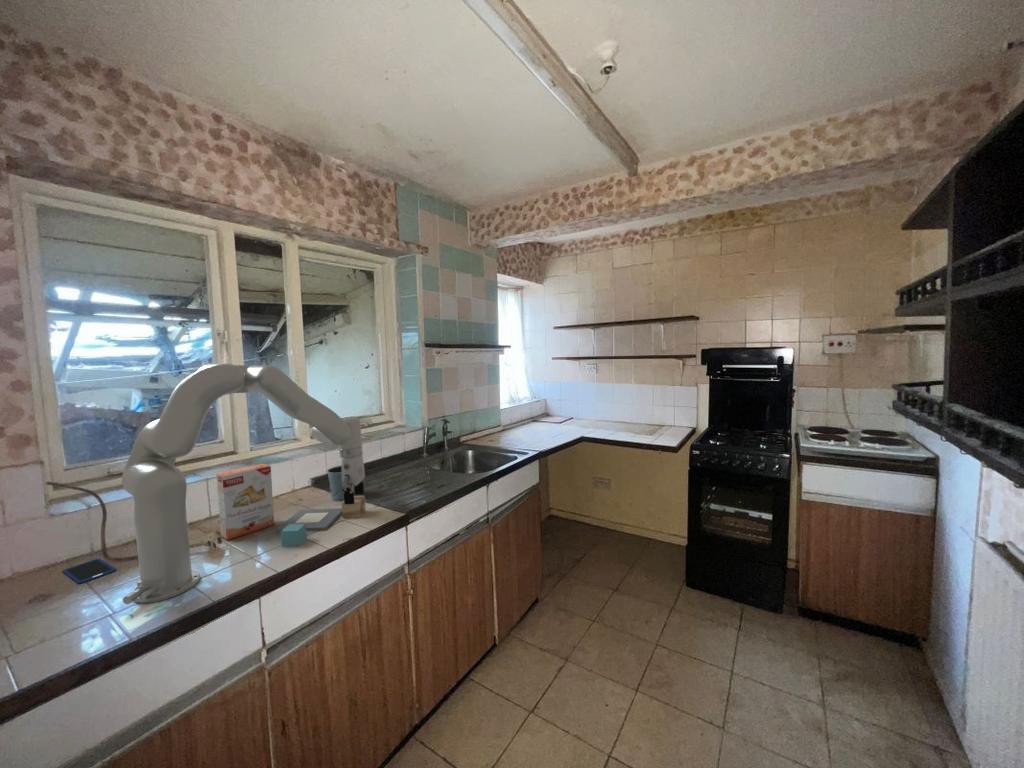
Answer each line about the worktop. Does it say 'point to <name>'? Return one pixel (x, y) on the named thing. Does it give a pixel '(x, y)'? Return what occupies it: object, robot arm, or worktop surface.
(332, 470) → the blue cup
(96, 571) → the cell phone
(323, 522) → the board
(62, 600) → the worktop surface
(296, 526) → the teal cube
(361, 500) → the oak cube
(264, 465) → the cracker box
